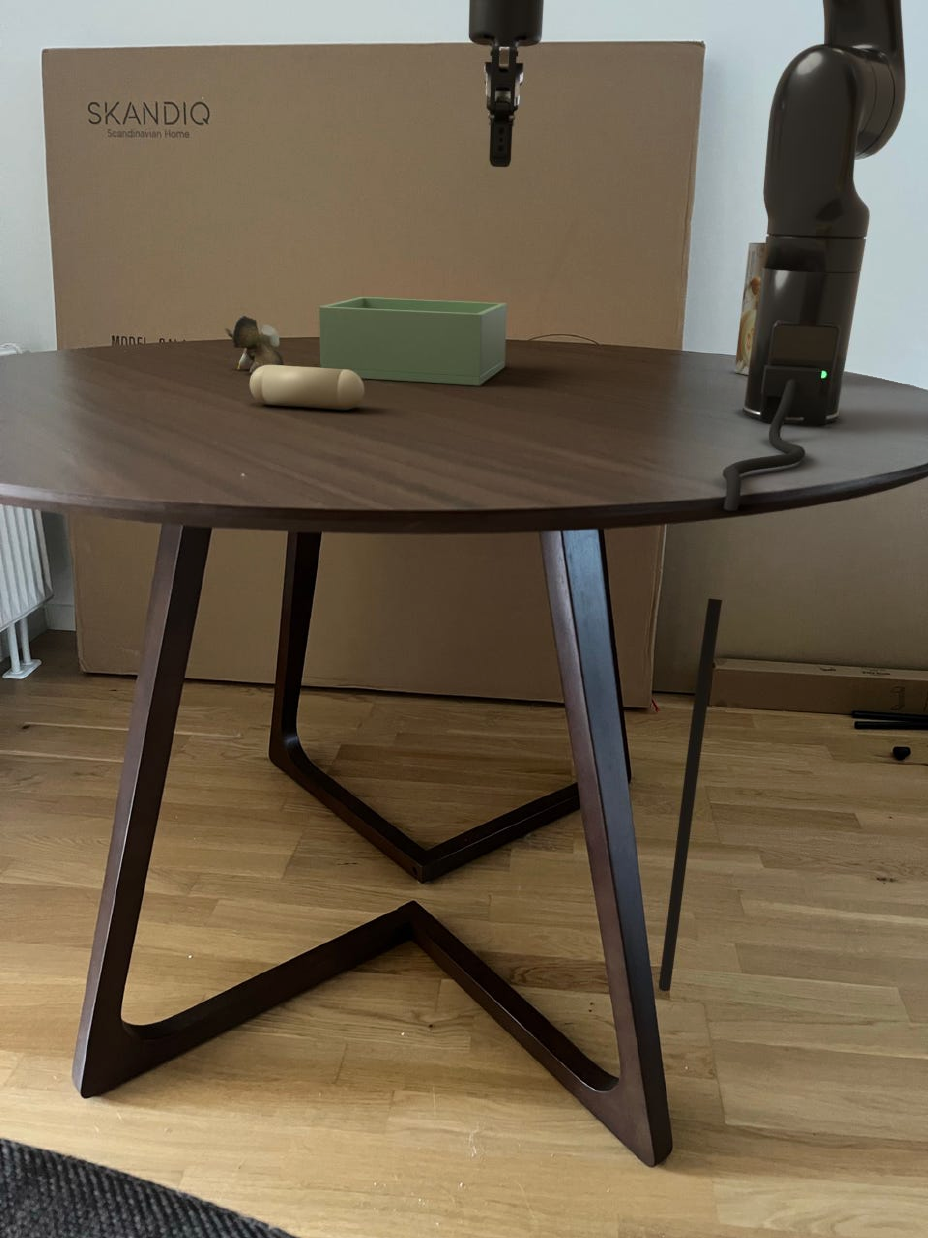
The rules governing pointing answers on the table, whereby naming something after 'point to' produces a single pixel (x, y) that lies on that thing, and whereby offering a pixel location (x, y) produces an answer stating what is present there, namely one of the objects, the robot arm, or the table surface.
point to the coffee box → (749, 306)
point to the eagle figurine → (255, 343)
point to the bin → (414, 339)
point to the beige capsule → (307, 387)
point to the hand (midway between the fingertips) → (500, 165)
